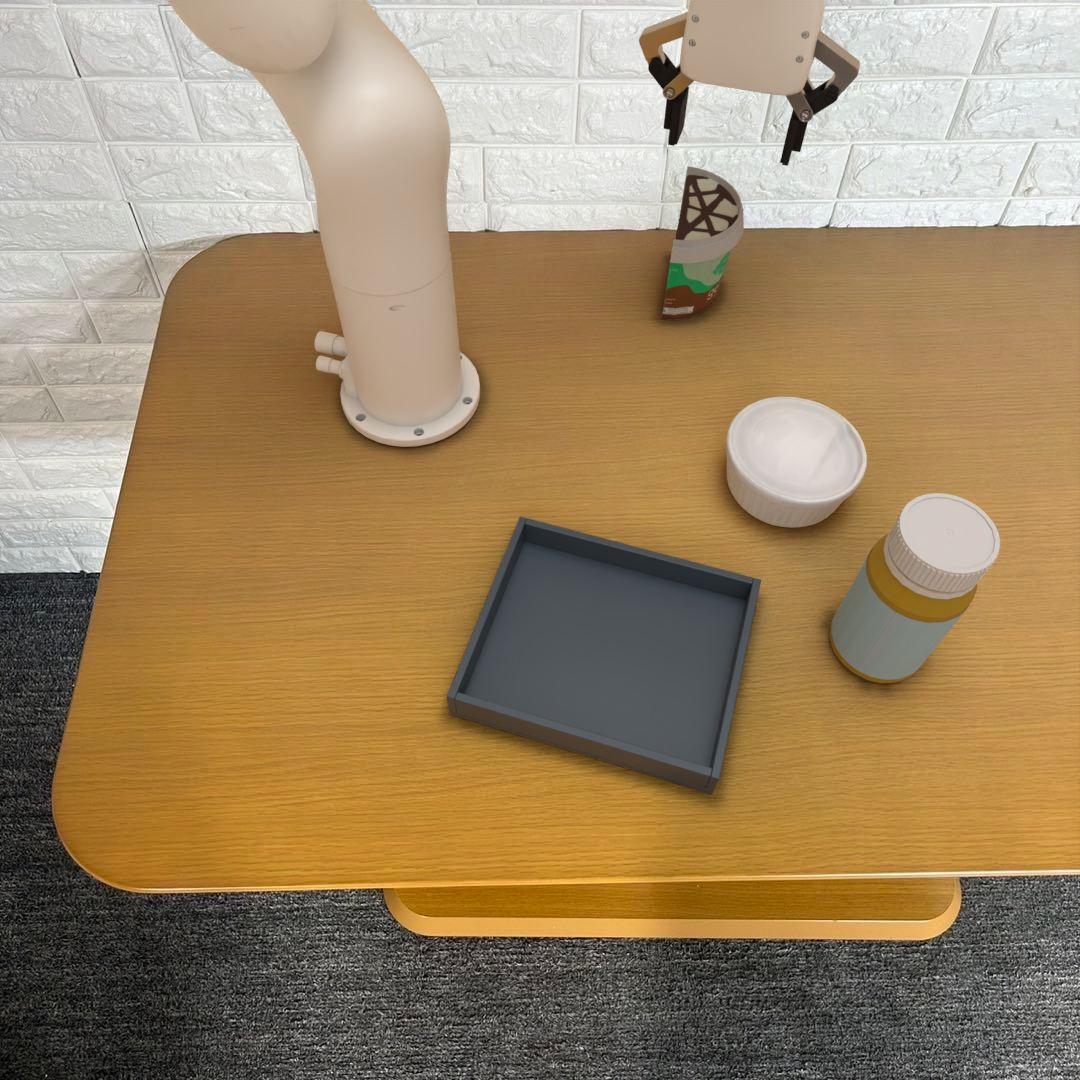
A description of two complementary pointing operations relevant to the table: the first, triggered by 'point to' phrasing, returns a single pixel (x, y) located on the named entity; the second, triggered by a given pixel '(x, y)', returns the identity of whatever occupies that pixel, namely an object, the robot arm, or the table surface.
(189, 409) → the table surface
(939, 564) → the bottle
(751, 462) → the ramekin
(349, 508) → the table surface
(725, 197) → the food container
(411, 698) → the table surface
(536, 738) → the tray
